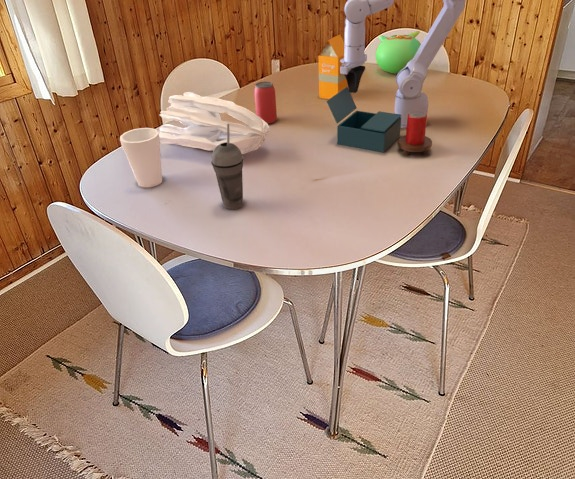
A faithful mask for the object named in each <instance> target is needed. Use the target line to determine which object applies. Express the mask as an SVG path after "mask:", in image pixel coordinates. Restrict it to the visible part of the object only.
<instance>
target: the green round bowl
mask: <svg viewBox="0 0 575 479" xmlns="http://www.w3.org/2000/svg"><path fill="white" fill-rule="evenodd" d="M420 33H421V31H420V30H416V31H414V32H411V33H409V34H395V35H392V36H391V35H390V36H389V37H388V36H386V35H378V40H379V41H380V43H379V44H378V46H377V47H376V51H375V61H376V64H377V66H378V67H379V68H380V69H381V70H382V71H384V72H386V73H390V74H398V73H399V72H400V71H401V70H402V69H404V68H405V67H406V65H407V63H408V62H409V61H411V60H412V59H413V58H414V56H415V54H416V52H417V51H418V49H419V47H420V46H421V44H422V42H420V41H419V40H418V39H417V38H416V37H417V36H418V35H419V34H420Z"/></svg>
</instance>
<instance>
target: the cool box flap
mask: <svg viewBox="0 0 575 479" xmlns="http://www.w3.org/2000/svg"><path fill="white" fill-rule="evenodd" d="M326 104H327V106H328V108H329V110H330V112H331V115H332V116H333V119H334V121H335V123H336V124H340V123H341V122H342V121H344V120H345V118H347V117H349V116H350V114H352V112H353V113H354V112H355V111H356V110H357V109H358V108H357V105H356V103H355V100H354V99H353V97H352V94H351V92H349V89H348V87H346V88H344V89H343V90H341V91H340V92H339V93H337V94H336V95H334V96H333V97H332V98H330V99H326Z"/></svg>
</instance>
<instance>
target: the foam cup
mask: <svg viewBox="0 0 575 479" xmlns="http://www.w3.org/2000/svg"><path fill="white" fill-rule="evenodd" d="M158 132H159V130H157V129H156V128H152V127H138V128H133V129H130V130H128V131H126V132H123V133H122V134H121V135H119V136H120V137H119V141H120V145H121V148H122V150H123V151H124V154H125V156H126V158H127V161H128V163H129V166H130V169H131V170H132V173H133V175H134V178H135V181H136V183H137V185H138V186H139V187H140V188H145V189H146V188H153V187H157V186H159V185H161V183H162V182H163V171H162V157H161V144H160V138H159V133H158Z"/></svg>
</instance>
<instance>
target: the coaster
mask: <svg viewBox="0 0 575 479" xmlns="http://www.w3.org/2000/svg"><path fill="white" fill-rule="evenodd" d="M405 140H406V134H405V135H402V136H399V137H398V138H397V146H398V148H399V149H401V150H403V155H404V156H409V153H410V152H411V153H422V154H423V155H427V154H428V151H429V150H430V149H431V148H432V147H433V140H432V139H431V138H430V137H429V136H426V135H425V141H424V143H422V144H419V145H413V144H409V143H407V142H406V141H405Z"/></svg>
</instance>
